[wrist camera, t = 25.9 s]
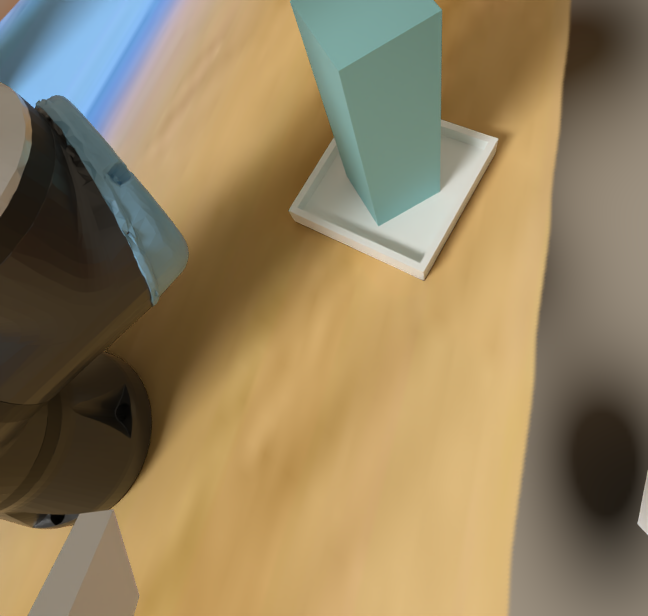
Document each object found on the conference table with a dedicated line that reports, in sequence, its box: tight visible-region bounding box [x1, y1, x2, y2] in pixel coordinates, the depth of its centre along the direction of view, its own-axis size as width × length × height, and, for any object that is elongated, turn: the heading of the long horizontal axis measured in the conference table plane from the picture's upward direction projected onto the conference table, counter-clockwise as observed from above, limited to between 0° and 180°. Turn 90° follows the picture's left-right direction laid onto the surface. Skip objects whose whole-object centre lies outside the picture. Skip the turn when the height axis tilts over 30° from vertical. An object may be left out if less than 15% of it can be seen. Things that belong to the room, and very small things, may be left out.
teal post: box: [290, 0, 442, 226], centre depth 34 cm, size 6×6×18 cm
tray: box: [288, 120, 498, 281], centre depth 42 cm, size 13×13×2 cm
